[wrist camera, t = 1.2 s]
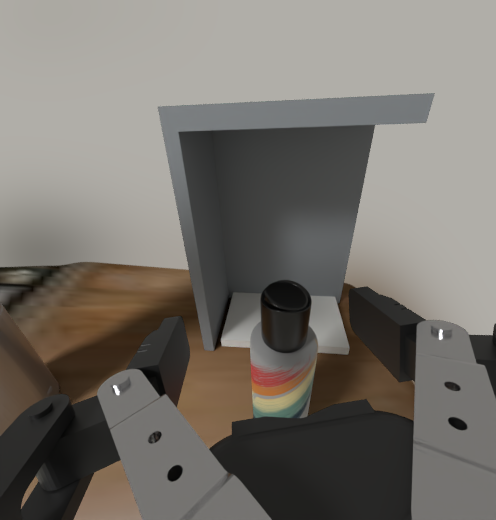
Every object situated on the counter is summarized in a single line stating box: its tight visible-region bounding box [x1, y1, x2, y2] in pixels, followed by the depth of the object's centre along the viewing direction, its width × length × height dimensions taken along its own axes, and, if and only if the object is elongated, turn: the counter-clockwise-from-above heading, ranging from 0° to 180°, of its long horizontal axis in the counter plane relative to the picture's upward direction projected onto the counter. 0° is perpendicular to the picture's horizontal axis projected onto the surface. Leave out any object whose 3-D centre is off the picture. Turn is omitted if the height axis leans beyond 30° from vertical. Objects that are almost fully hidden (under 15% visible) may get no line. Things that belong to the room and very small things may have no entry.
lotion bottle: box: [250, 280, 318, 418], centre depth 23 cm, size 6×6×20 cm
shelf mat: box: [221, 292, 350, 355], centre depth 42 cm, size 19×12×2 cm, turn 83°
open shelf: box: [158, 93, 434, 351], centre depth 35 cm, size 22×14×32 cm, turn 83°
